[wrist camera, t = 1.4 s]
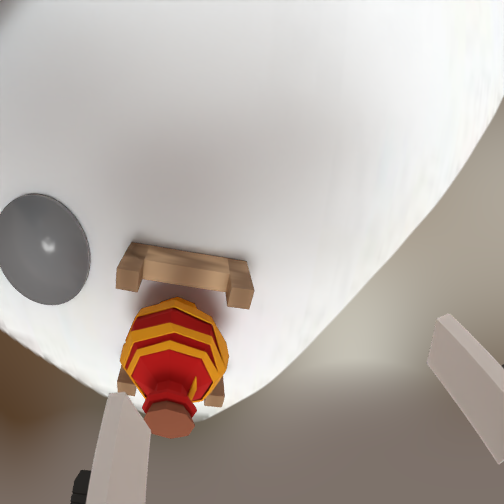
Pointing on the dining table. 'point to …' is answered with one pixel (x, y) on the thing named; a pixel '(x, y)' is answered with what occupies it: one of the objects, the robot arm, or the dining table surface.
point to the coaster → (43, 249)
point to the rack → (186, 274)
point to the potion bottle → (173, 363)
